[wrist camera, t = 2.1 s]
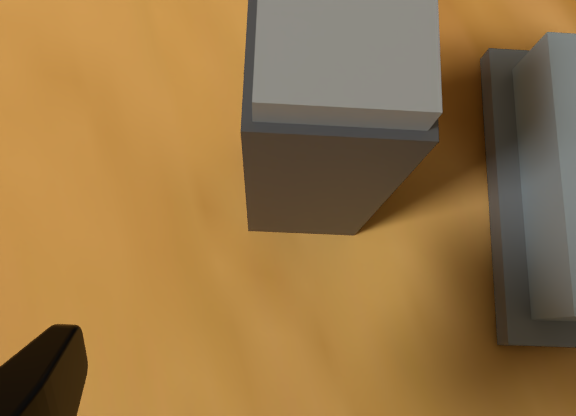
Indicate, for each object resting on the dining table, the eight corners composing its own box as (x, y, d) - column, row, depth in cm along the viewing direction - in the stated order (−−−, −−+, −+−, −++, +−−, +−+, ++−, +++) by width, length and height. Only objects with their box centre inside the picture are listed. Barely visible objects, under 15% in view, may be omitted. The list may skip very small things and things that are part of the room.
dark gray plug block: (354, 235, 23) (454, 124, 11) (248, 230, 23) (239, 113, 11) (354, 136, 24) (445, -58, 12) (253, 131, 24) (249, -72, 12)
